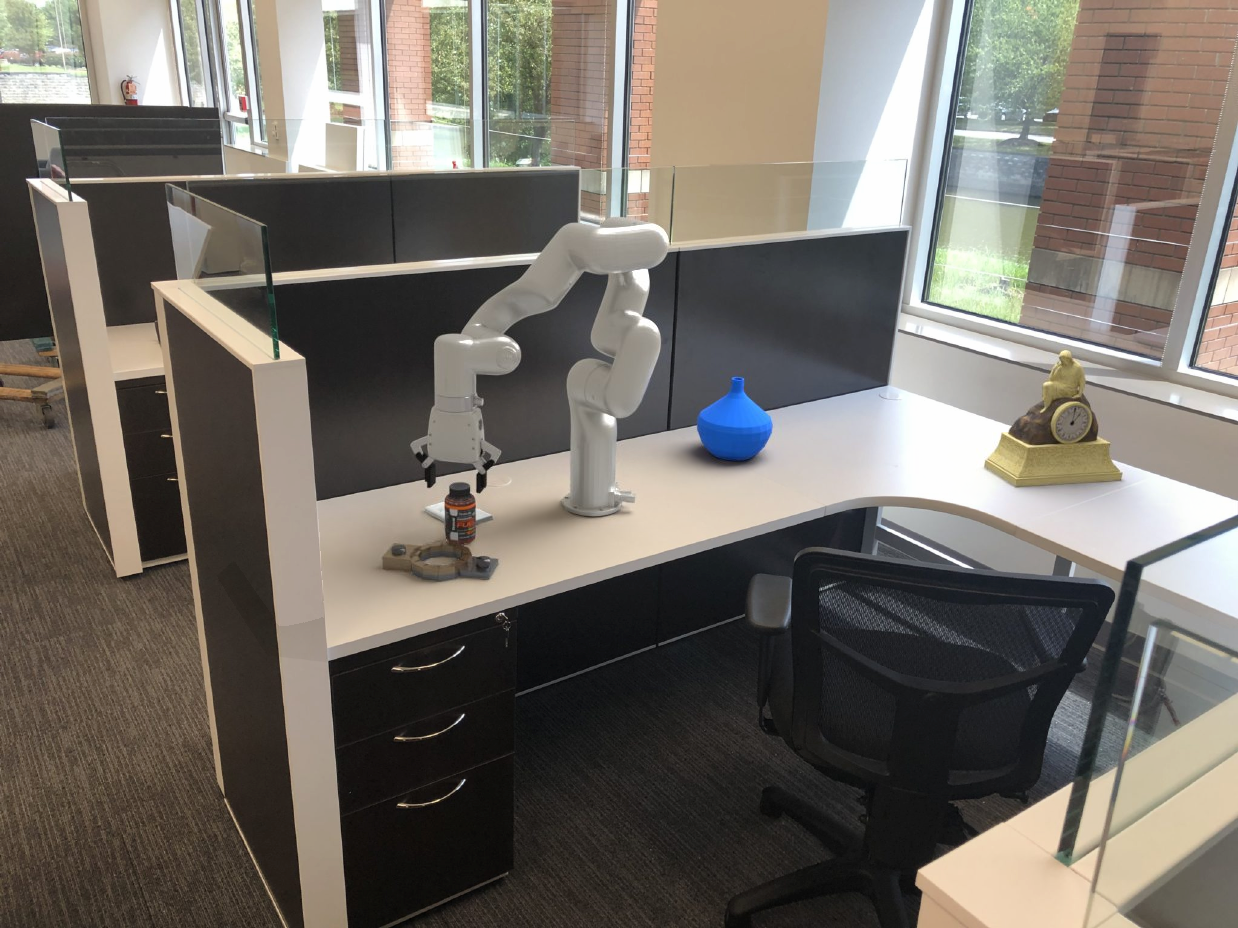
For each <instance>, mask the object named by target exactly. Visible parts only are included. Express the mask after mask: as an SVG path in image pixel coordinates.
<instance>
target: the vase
mask: <svg viewBox="0 0 1238 928" xmlns="http://www.w3.org/2000/svg"><path fill="white" fill-rule="evenodd" d="M730 383H731V386H730V389H729V392H728V393H727V394H725V395H724V396H723V397H721V398H720V399H718V400H716V401H714V403H712V404H710V405H708V406H707V407H706V408H703V409H702V410H701V411H700V412H699V414H698V416H697V418H696V429H697V432H698V436H699V438H700V441H701V443H702V445H703V446H704V447H705V449H706V450H707V451H708V452H710V454H712V455H713V456H714V457H716V458H718V459H721V460H725V461H727V460H728V461H745V460H749V459H751V458H753V457H755V456H756V455H758V454H759V453H760V452H761V451H762V450H763V449H764V448H765V447H766V445H767V443H768V441H769V440H770V438H771V435H772V434H773V427H774V426H773V425H774V423H773V421H772V417H771V415H769V414H768V413H767V411H765V410H764V409H762V408H761V407H760V406H759V405H757V404H756V403H755V401H753V400H752V399H750V397H748V396H747V394H746V393H745V390H744V385H745V378H743V377H740V376H734V377H732V378H731V382H730Z"/></svg>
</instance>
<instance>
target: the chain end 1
mask: <svg viewBox="0 0 1238 928" xmlns="http://www.w3.org/2000/svg"><path fill="white" fill-rule="evenodd" d="M437 551H449V552H455V553H457V554H459V555H461V556H462V557H461V559H460V560H458V559H457V560H456V561H453V562H451V563H445V564H431V563H430V564H429V563H426V562H425V561H423V562H422V561H420V560H419V559H420V558H421V557H422V556H424V555H426V554H428V553H431V552H437ZM472 556H473V553H472V551H471V550H470V548H469V546H466V545H465V544H459V543H454V542H448V541H435V542H428V543H424V544H422V545H419V544H409V543H400V542H399V543H398V542H394V543H393V544H391V546H390V547H389V549H387V551H386V552H385V553H384V554H383V555H382V556H381V560H382V561H381V562H382V570H392V571H400V572H401V571H402V572H410V573H412V572H411V567H412V569H414V570H416V571H418V572H421V573H423V574H432V575H444V574H451V573H456V572H458V571H460V570H463V569H465V568H467V567H468V566H469V564H470V563H471V561H472Z"/></svg>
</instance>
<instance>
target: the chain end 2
mask: <svg viewBox="0 0 1238 928" xmlns="http://www.w3.org/2000/svg"><path fill="white" fill-rule="evenodd" d="M442 557H443V558H452V559H453V558H454V559H455V560H457V561H458V560H460V559H461V557H462V556H461V555H459V554H457V553H455V552H449V551H437V552H431V553H428V554H426V555H424V556H422V557H421V558H420V559H419V560H420V561H422V562H425V561H428V560H431V559H435V558H442ZM498 566H499V558H495V557H490V556H488V555H479V556H473V555H472V561H471V563H470V564H469V566H468V567H467V568H465V569H463V570H460V571H458V572H456V573H451V574H444V575H432V574H423V573H421V572H418V571H416V570H414V569H412V567H411V572H410V573H411V575H412V576H415V577H417V578H419V579H421V580H423V581H433V582H434V581H435V582H443V581H450V580H456V579H458V578H461V577H462V578H470V579H471V578H472V579H481V580H482V579H484V580H490V579H491V578H492V576H493V575H494V573H495V571H496V569H497V568H498Z"/></svg>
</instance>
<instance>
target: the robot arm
mask: <svg viewBox="0 0 1238 928" xmlns="http://www.w3.org/2000/svg"><path fill="white" fill-rule="evenodd" d="M669 246H670V244H669V236H668V235H667V232H666V231H665V230H664V229H663V228H662V227H661V226H659V225H658V224H657V223H653V222H648V221H643V220H638V219H635V218H629V217H625V216H624V217H623V216H611V217H609V218H606V219H604V220H603V221H602V222H601V224H600V225H599V226H596V225H591V224H588V223H587V224H586V223H582V222H581V223H580V222H570V223H567V224H565V225H563V226H562V227H561V228H560V229H559V230H558V231H557V232H556V233H555V234H554V236H553V237H552V238H551V239H550V241H549V242H548V243H547V245H545V247H544V248H543V250H542V251H541V253H539V255H538V256H537V257H536V259H534V261H533V262H532V263H531V265H530V266H529V267H528V269H527V270H526V271H525V272H524V273H523V275H522V276H521V277H520V278H519V279H517V280H516V281H514V282H513V283H510V284H509V285H508V286H506V287H504V288H503V289H502V290H500V291H499V292H497V293H496V294H494V295H493V296H491V297H489V298H488V299H487V300H486V301H485V302H484V303H482V305H481V306H480V307H479V308H478V309H477V310H476V311H475V312H474V313H473V315H472V317H471V318H470V319H469V321H468V322H467V323H466V325H465V326H464V328H463V329H462V331H461V333H447V334H442V335H439V336H437V338H436V339H435V340H434V342H433V343H434V347H433V350H434V351H433V353H434V354H433V360H434V361H433V363H434V365H433V366H434V405H433V406H432V407H431V410H430V414H429V415H430V416H429V420H428V429H427V435H426V436H422V437H421V438H418V439H415V440H413V441H412V442H411V443H410V445H409V446H410V449H411V450H412V452H413V454H414V456H415V458H416V460H418V461H419V463H420V464H421V466H422V468H423V469H424V482H425V483H426V488H427V489H431V488H432V487H433V486H434V485H435V484H436V483H437V482H436V481H437V476H436V475H437V474H436V473H437V472H436V471H437V470H436V464H435V461H440V462H451V463H461V464H472V465H473V466H474V467H475V469H476V470H477V473H476V476H475V482H476V483H475V492H476V493H477V494H479V495H480V494H481V493H482V492H483V490H485V489H486V488H487V484H488V481H487V480H488V471H489V470H490V469H492V467H493V466H494V465H495V464H496V463H497V461H498V460H499V457H500V456H501V454H502V450H501V449H499V448H497V447H496V446H494V445H492V444H491V443H490V442H488V441H486V440H485V429H484V428H485V427H484V420H483V415H482V410H481V408H479V407H481V406H483V405H484V402H485V401H484V398H483V397H479V396H478V392H477V375H486V376H487V375H490V376H502V375H506V374H510V373H512V372H513V371H514V370H515V369H516V368H517V367H518V366H519V364H520V362H521V359H522V350H521V348H520V346H519V343H517V342H516V341H515V340H514V339H513V338H512V337H510V336H508V335H506V334H505V333H506V331H507V330H508V329H510V327H512V326H513V325H514V324H515V323H517V322H519V321H521V320H522V319H525V318H527V317H530V316H534V315H539V314H542V313H546V312H548V311H551V310H553V309H555V308H557V306H559V304H560V303H561V301H562V300H563V299H564V298H565V296H566V295H567V294H568V292H569V291H570V290H571V288H573V286H574V285H575V284H576V283H577V281H578V280H579V279H580V277H581V276H582V274H583V273H584V272H587V273H591V274H595V275H608V279H607V286H606V289H605V291H604V295H603V298H602V301H601V304H600V306H599V309H598V312H597V314H596V317H595V320H594V322H593V326H592V328H591V332H590V341H591V345H592V346H593V348H594V349H595V350H597V351H598V352H599V353H601V354H602V355H605V356H607V357H610V358H613V359H614V360H613V363H612V364H611V363H609V362H606V361H604V360H601V359H596V358H589V357H588V358H584V359H581V360H578V361H577V362H576V363H574V365H573V366H572V367H571V368H570V370H569V372H568V374H567V378H566V392H567V398H568V399H567V400H568V404H569V411H570V458H569V459H570V460H569V461H570V463H569V464H570V465H569V467H570V468H569V469H570V470H569V471H570V473H569V474H570V475H569V481H570V482H569V493H567V494H565V496H563V498H562V506H563V508H564V509H565V510H566V511H568V512H570V513H572V514H576V515H578V516H579V515H580V516H584V517H601V516H602V517H603V516H608V515H611V514H614V513H616V512H618V511H619V510H620V509H621V508H622V506H623V503H629V504H635V503H636V493H632V490H630V489H621V488H620V487H619V482H618V481H617V482H616V467H617V465H616V464H617V437H618V425H617V424H618V423H617V419H623V418H624V419H625V418H628V417H629V416H631V415H632V414H633V413H635V412H636V410H637V409H638V408H639V406H640V404H641V403H642V401H643V399H644V396H645V395H646V391H647V389H648V386H649V383H650V380H651V377H652V375H653V372H654V369H655V367H656V364H657V362H658V359H659V356H660V352H661V348H662V344H661V343H662V338H661V332H660V329H659V328H658V326H657V325H656V324H655V322H653V321H652V320H650V319H649V318H647V317H643V314H644V310H645V308H646V304H647V300H648V297H649V292H650V285H651V283H650V275H649V270H650V269H652V268H655V267H656V266H658V265H659V264H661V263H662V262H663V261H664V260H665V258H666V257H667V255H668V251H669ZM424 445H427V446H426V447H427V448H426V450H427V451H426V452H427V453H426V452H424V450H422V447H423V446H424ZM486 452H487V454H490V458H489V460H487V461H486V460H485V458H484V457H483V456H484V455H485V453H486Z"/></svg>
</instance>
